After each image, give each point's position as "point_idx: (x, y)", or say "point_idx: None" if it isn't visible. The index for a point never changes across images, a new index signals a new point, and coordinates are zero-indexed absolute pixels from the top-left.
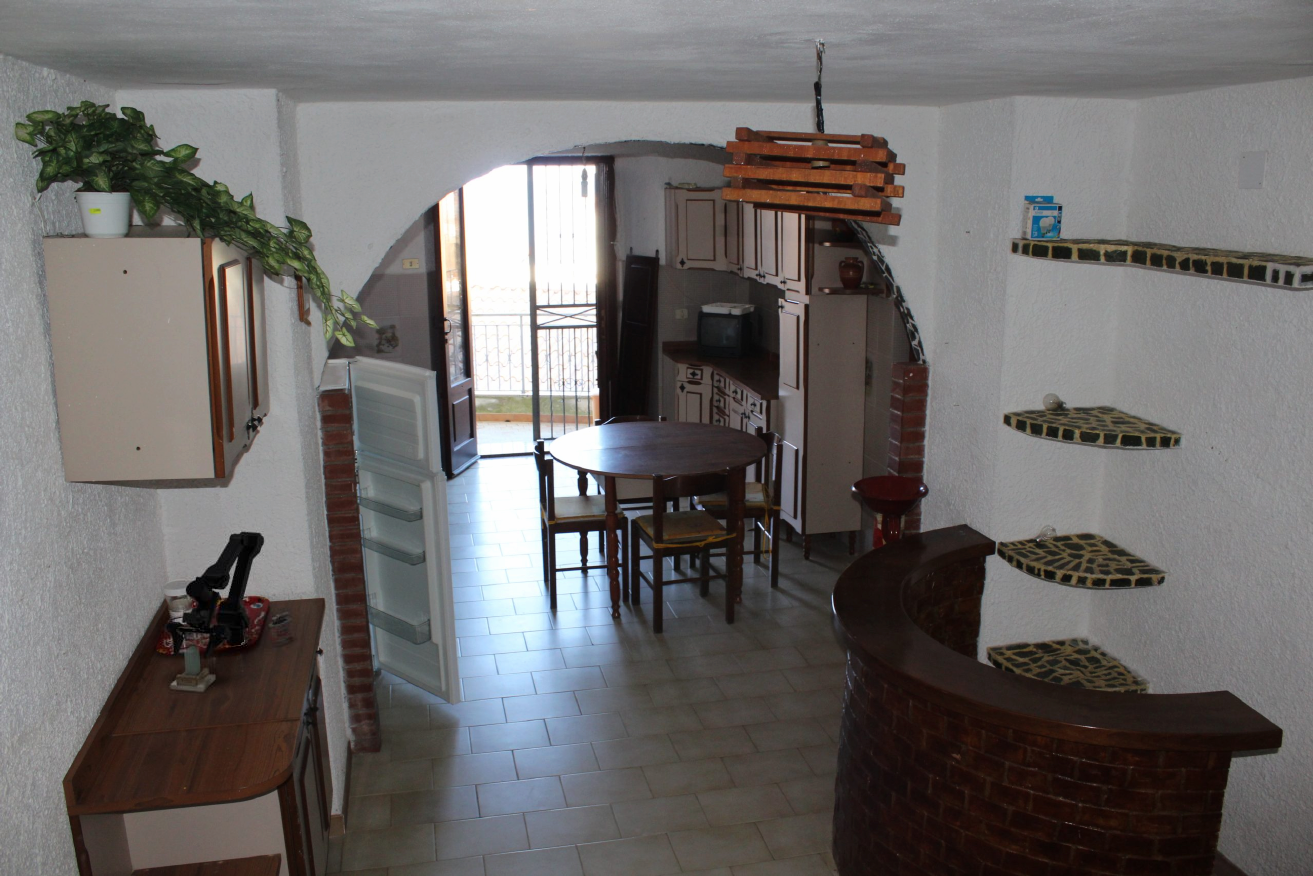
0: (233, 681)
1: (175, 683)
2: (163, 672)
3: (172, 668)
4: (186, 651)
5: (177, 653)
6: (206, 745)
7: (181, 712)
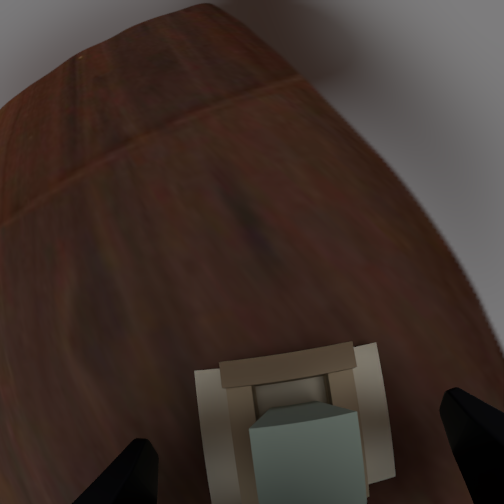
0: None
1: (359, 362)
2: None
3: None
4: (339, 434)
5: (452, 433)
6: (68, 122)
7: (193, 201)
